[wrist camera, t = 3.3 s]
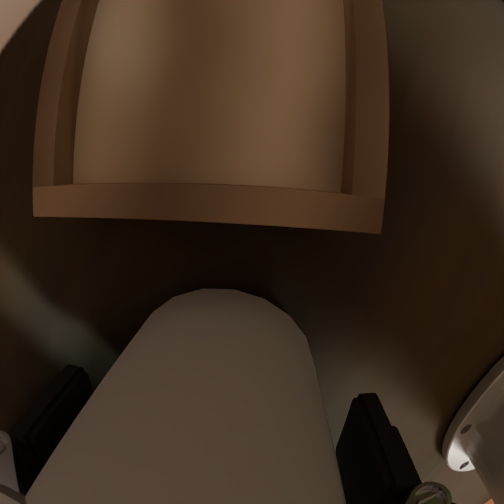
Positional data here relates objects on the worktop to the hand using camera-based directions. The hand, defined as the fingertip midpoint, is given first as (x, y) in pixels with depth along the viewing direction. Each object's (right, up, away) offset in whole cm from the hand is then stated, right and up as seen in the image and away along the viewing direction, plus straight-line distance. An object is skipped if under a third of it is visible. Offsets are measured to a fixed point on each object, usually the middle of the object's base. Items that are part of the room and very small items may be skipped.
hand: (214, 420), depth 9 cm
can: (0, +1, +4) cm, 4 cm away
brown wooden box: (0, +13, +1) cm, 13 cm away
